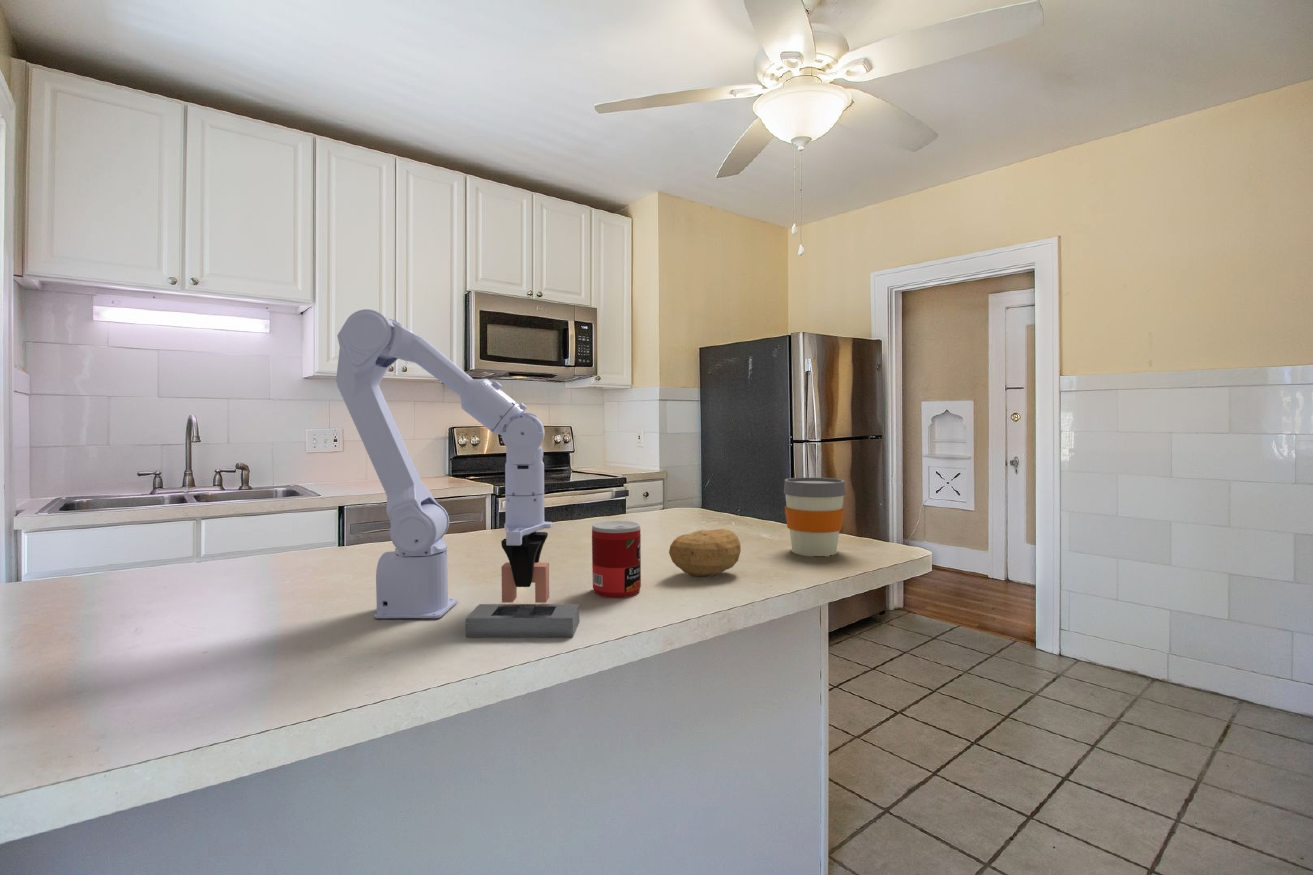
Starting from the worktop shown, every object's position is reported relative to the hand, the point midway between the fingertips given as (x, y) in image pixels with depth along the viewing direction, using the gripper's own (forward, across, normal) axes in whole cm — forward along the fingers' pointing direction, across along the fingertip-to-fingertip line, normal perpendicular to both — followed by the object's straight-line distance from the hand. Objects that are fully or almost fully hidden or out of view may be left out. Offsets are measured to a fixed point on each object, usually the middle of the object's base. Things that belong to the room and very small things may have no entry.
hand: (525, 583), depth 94 cm
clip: (+2, 0, 0) cm, 2 cm away
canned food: (+4, +8, -13) cm, 16 cm away
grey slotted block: (+3, -10, -2) cm, 11 cm away
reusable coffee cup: (+3, +37, -52) cm, 64 cm away
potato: (+4, +18, -28) cm, 34 cm away
